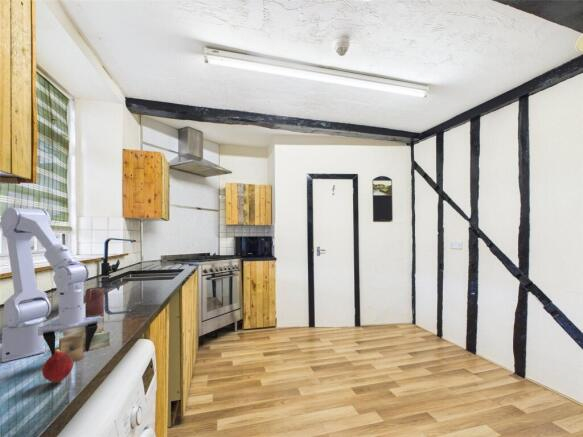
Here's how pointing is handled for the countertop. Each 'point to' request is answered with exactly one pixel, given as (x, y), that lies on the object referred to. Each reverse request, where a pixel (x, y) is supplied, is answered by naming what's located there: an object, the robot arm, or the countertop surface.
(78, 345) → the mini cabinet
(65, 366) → the onion
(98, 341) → the wooden cubby shelf
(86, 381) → the countertop surface
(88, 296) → the can
